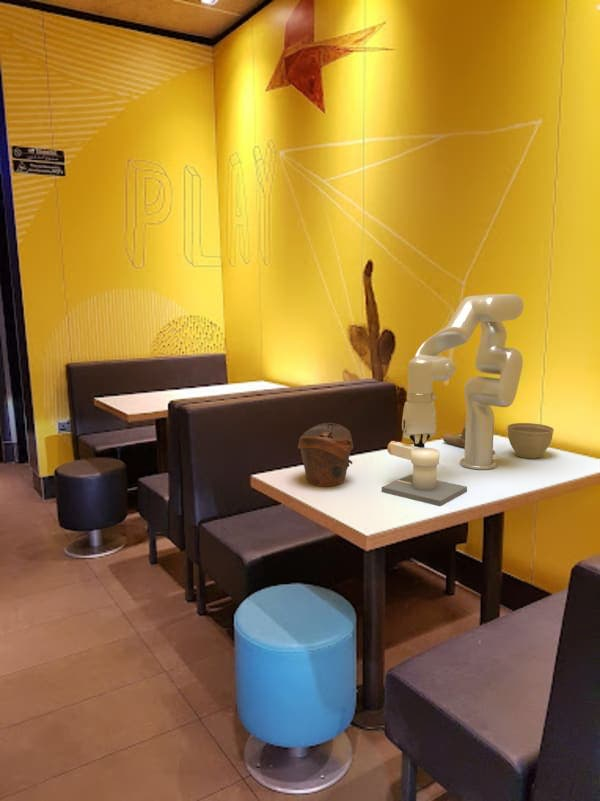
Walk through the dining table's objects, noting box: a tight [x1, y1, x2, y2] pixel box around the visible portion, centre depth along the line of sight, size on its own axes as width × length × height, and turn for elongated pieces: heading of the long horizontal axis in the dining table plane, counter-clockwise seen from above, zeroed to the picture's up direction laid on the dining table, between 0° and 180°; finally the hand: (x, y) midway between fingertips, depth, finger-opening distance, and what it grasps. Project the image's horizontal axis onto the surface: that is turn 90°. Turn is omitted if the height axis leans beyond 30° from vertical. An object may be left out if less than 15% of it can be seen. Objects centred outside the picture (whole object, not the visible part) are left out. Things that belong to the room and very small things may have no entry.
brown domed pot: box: [297, 422, 354, 487], centre depth 193 cm, size 18×20×18 cm
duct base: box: [381, 463, 468, 507], centre depth 183 cm, size 17×20×9 cm
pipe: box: [442, 423, 466, 449], centre depth 237 cm, size 6×17×10 cm, turn 33°
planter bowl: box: [506, 422, 555, 459], centre depth 222 cm, size 16×16×11 cm
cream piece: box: [387, 440, 440, 466], centre depth 185 cm, size 18×8×4 cm, turn 36°
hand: (419, 454), depth 189 cm, fingers closed
